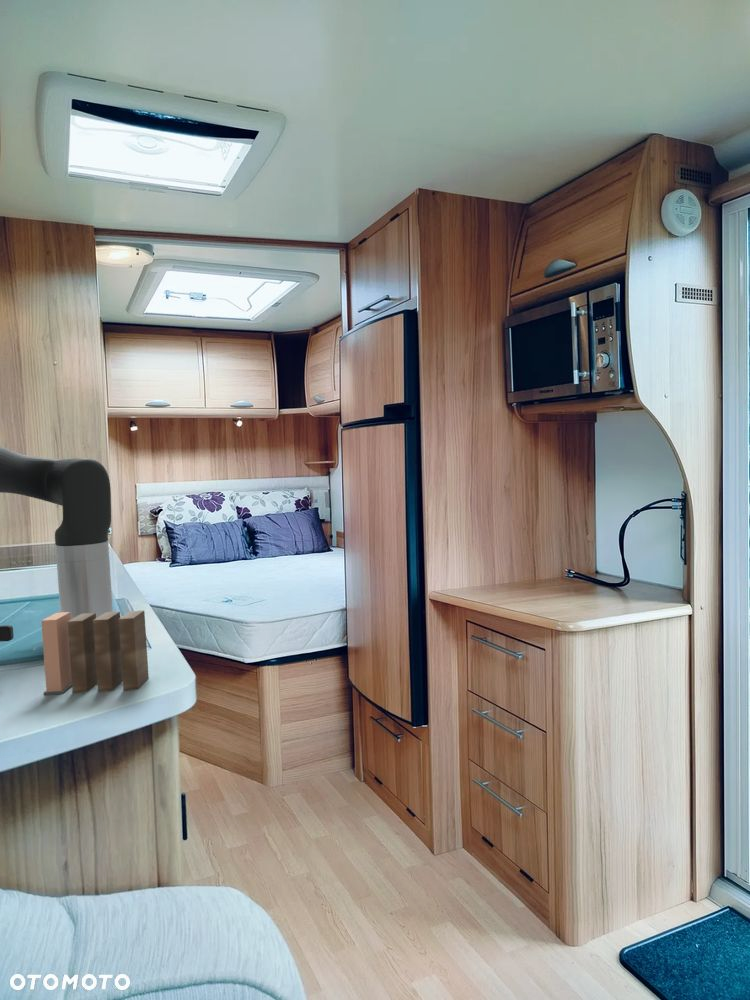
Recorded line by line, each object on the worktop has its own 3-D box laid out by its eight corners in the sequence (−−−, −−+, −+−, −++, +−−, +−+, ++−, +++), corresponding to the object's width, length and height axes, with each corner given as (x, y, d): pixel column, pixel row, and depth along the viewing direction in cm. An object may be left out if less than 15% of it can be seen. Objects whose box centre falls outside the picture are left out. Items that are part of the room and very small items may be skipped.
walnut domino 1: (72, 692, 95) (67, 621, 94) (86, 681, 100) (81, 613, 99) (87, 692, 95) (82, 620, 94) (100, 680, 100) (95, 612, 99)
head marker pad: (43, 694, 94) (43, 692, 94) (60, 682, 100) (60, 679, 100) (62, 693, 94) (62, 691, 94) (78, 681, 100) (78, 679, 100)
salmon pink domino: (46, 692, 94) (41, 620, 94) (61, 680, 99) (56, 612, 99) (61, 691, 95) (56, 619, 94) (75, 679, 100) (70, 611, 99)
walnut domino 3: (123, 690, 95) (118, 618, 94) (134, 678, 100) (130, 611, 99) (138, 689, 95) (133, 618, 94) (148, 678, 100) (144, 610, 99)
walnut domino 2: (97, 691, 95) (93, 620, 94) (110, 680, 100) (106, 612, 99) (112, 690, 95) (107, 619, 94) (124, 679, 100) (119, 611, 99)
